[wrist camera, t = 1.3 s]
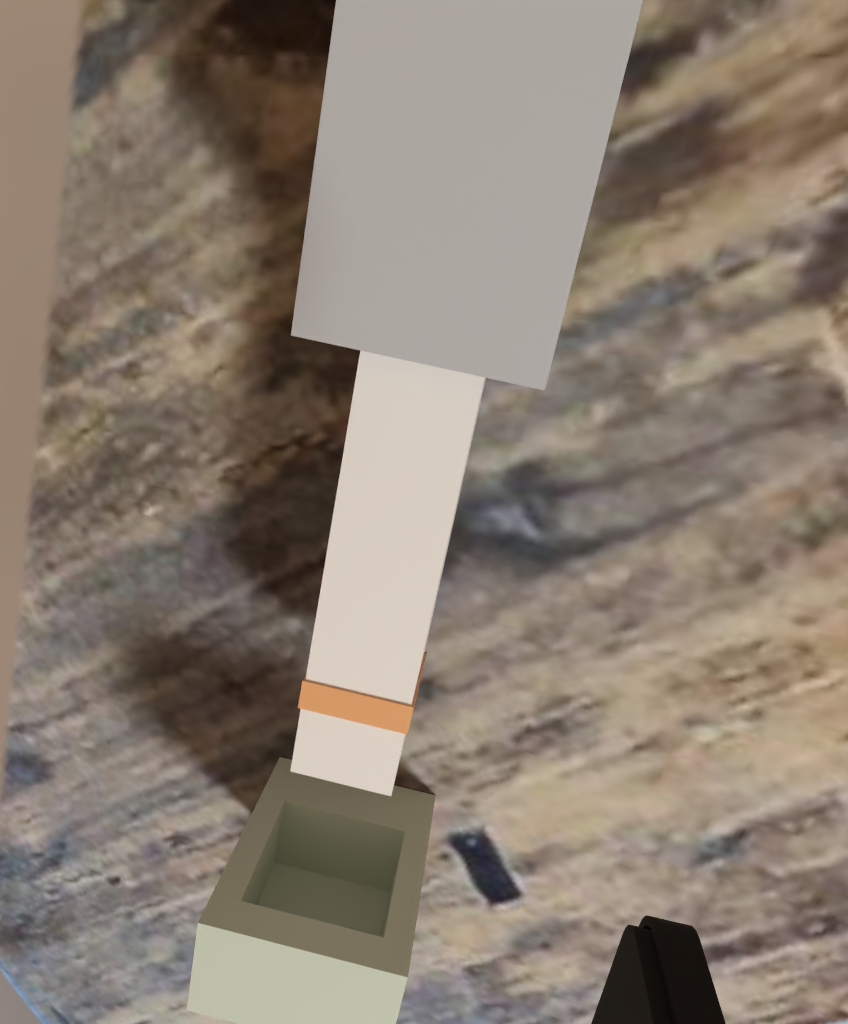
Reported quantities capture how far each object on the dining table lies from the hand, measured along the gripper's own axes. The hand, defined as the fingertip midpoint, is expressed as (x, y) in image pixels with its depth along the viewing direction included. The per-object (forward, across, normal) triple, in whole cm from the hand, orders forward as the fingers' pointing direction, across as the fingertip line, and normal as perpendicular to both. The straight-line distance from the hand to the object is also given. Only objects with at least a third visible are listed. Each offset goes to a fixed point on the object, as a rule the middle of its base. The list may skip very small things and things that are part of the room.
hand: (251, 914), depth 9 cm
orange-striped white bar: (+16, 0, -4) cm, 16 cm away
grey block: (+19, 0, -11) cm, 22 cm away
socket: (+20, 0, +15) cm, 25 cm away
